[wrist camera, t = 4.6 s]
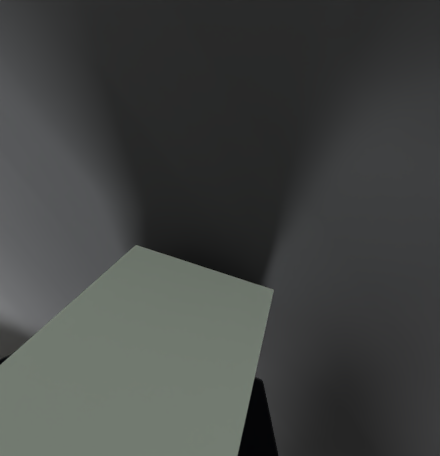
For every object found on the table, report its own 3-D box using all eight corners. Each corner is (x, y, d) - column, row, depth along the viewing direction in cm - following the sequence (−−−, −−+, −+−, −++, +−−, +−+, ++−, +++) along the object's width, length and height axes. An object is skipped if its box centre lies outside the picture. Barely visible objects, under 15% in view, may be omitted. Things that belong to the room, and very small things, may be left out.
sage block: (273, 289, 9) (211, 573, 4) (241, 386, 11) (173, 654, 6) (136, 244, 10) (-74, 429, 5) (130, 343, 12) (-18, 546, 7)
